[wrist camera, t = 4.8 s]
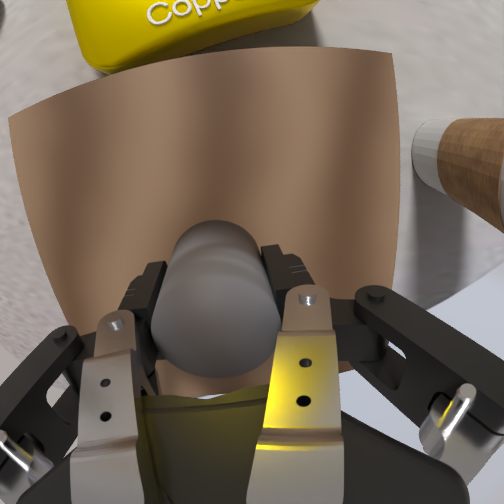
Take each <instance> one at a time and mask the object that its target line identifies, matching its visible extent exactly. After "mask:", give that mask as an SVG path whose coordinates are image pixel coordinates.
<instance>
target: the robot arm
mask: <svg viewBox="0 0 504 504" xmlns="http://www.w3.org/2000/svg"><path fill="white" fill-rule="evenodd" d="M261 257H262V261H263V264H264V267H265V270H266V274H267V277H268V280H269V283H270V287H271V290H272V293H273V297H274V300H275V303H276V306H277V310H278V313H279V316H280V319H281V331H278V335H277V341H276V348H275V355H274V361H273V368H272V374H271V381H270V384H265V385H259V386H252V387H245V388H242V389H239V390H236V391H233V392H230V393H227V394H224V395H221V396H218V397H214V398H211V399H198V398H190V397H183V396H176V395H162V391H161V386H160V381H159V375H158V371H157V369H156V367H155V364H156V360H166V359H165V358H164V356H163V355H162V354H161V353H160V352H159V350H158V349H157V347H156V345H155V343H154V340H153V337H152V332H151V321H152V316H153V313H154V309H155V306H156V302H157V299H158V296H159V293H160V289H161V286H162V283H163V280H164V277H165V274H166V271H167V267H168V266H167V263H166V261H165V260H164V261H157V262H151V263H148V264H147V266H146V268H145V270H144V272H143V274H142V275H139V276H137V277H136V278H135V279H134V280H133V281H131V282H130V284H129V286H128V288H127V291H126V293H125V296H124V297H123V299H122V301H121V303H120V305H119V307H118V310H117V311H113V312H111V313H109V314H107V315H105V316H104V317H103V318H102V319H101V320H100V321H99V322H98V325H97V331H95V332H92V333H89V334H85V335H82V336H80V335H79V333H78V331H77V329H76V328H75V327H74V326H70V325H67V326H62V327H59V328H57V329H55V330H54V331H52V332H51V333H50V334H49V335H48V336H47V337H46V338H45V339H44V340H43V341H42V342H41V343H40V344H39V345H38V346H37V347H36V348H35V349H34V350H33V351H32V352H31V353H30V354H29V355H28V356H27V358H26V359H25V360H24V361H23V362H22V363H21V364H20V365H19V366H18V367H17V368H16V369H15V370H14V371H13V373H12V374H11V375H10V376H9V377H8V378H7V379H6V380H5V381H4V382H3V384H2V385H1V386H0V499H2V501H3V502H4V503H5V504H470V498H469V492H468V488H467V485H468V484H469V483H470V482H471V480H473V478H474V477H475V476H476V475H477V474H478V472H479V471H480V470H481V469H482V468H483V466H484V465H485V463H486V462H487V461H488V460H489V459H490V457H491V456H492V455H493V454H494V453H495V452H496V451H497V449H498V448H499V447H500V446H501V445H502V444H503V443H504V361H503V360H502V359H500V358H499V357H497V356H496V355H494V354H493V353H491V352H490V351H488V350H487V349H485V348H484V347H482V346H481V345H479V344H478V343H476V342H475V341H473V340H471V339H470V338H469V337H467V336H465V335H463V334H462V333H461V332H459V331H457V330H456V329H454V328H453V327H451V326H450V325H448V324H446V323H445V322H443V321H442V320H440V319H438V318H437V317H435V316H434V315H432V314H430V313H429V312H427V311H426V310H424V309H422V308H421V307H419V306H417V305H416V304H414V303H413V302H411V301H409V300H408V299H406V298H404V297H403V296H401V295H399V294H398V293H396V292H394V291H393V290H391V289H389V288H387V287H384V286H380V285H368V286H364V287H362V288H360V289H358V290H357V291H356V293H355V299H335V298H330V297H329V293H328V291H327V290H326V289H324V288H323V287H320V286H317V285H315V283H314V281H313V279H312V277H311V276H310V274H309V272H308V271H307V269H306V267H305V265H304V263H303V262H302V260H301V258H300V257H298V256H296V255H294V254H293V253H291V254H285V255H283V253H282V251H281V249H280V246H279V244H274V245H267V246H261ZM389 341H390V342H391V343H393V344H394V345H395V346H396V347H398V348H399V349H400V350H402V352H403V353H404V354H405V357H406V359H405V358H404V357H402V356H401V355H400V354H398V353H397V352H396V351H395V350H393V349H392V348H391V347H390V346H388V343H389ZM338 361H349V363H350V365H351V366H352V367H353V368H354V369H355V370H356V371H357V372H358V373H359V374H360V375H362V376H363V377H364V378H365V379H366V380H367V381H368V382H369V383H370V384H371V385H372V386H373V387H375V388H376V389H377V390H378V391H379V392H380V393H381V394H382V395H383V396H385V397H386V398H387V399H388V400H389V401H390V402H391V403H392V404H393V405H395V406H396V407H397V408H398V409H399V410H400V411H401V412H402V413H403V414H404V415H406V416H407V417H408V418H409V419H410V420H411V421H412V422H413V423H414V424H416V425H417V426H418V427H419V428H420V430H419V439H420V442H421V444H422V445H423V449H424V451H425V452H426V453H427V454H429V456H428V455H426V454H424V453H422V452H420V451H418V450H416V449H413V448H411V447H409V446H407V445H405V444H403V443H401V442H399V441H397V440H395V439H393V438H391V437H389V436H387V435H385V434H383V433H382V432H380V431H378V430H376V429H374V428H372V427H370V426H368V425H367V424H365V423H363V422H361V421H359V420H357V419H356V418H354V417H352V416H350V415H348V414H347V413H345V412H343V411H341V407H340V388H339V371H338ZM61 373H62V374H63V375H64V377H65V378H66V380H67V381H68V383H69V384H70V385H69V387H68V388H67V389H66V391H65V392H64V393H63V394H62V396H61V397H60V398H59V399H58V401H57V402H56V403H55V405H54V406H53V407H52V408H51V406H50V405H49V404H48V402H47V399H46V394H47V391H48V389H49V388H50V386H51V385H52V384H53V383H54V382H55V380H56V379H57V378H58V377H59V376H60V375H61ZM77 436H78V445H77V447H76V448H75V449H73V450H72V451H71V452H70V453H69V454H68V455H67V456H65V454H66V452H67V451H68V450H69V448H70V447H71V445H72V444H73V442H74V441H75V439H76V438H77ZM64 456H65V457H64ZM63 457H64V458H63Z"/></svg>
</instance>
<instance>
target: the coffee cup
mask: <svg viewBox="0 0 504 504" xmlns="http://www.w3.org/2000/svg"><path fill="white" fill-rule="evenodd" d="M412 160H413V165H414V168H415V171H416V173H417V174H418V176H419V178H420V179H421V180H422V181H423V182H424V183H425V184H427V185H428V186H430V187H432V188H434V189H436V190H438V191H440V192H441V193H443V194H445V195H447V196H449V197H450V198H452V199H453V200H454V201H456V202H458V203H459V204H461V205H463V206H464V207H466V208H467V209H469V210H470V211H472V212H473V213H475V214H476V215H478V216H479V217H481V218H482V219H484V220H485V221H487V222H488V223H490V224H491V225H493V226H494V227H495V228H497V229H498V230H500V231H501V232H502V233H504V119H503V118H469V119H435V120H430V121H427V122H426V123H424V124H423V125H422V126H421V127H420V128H419V130H418V131H417V133H416V135H415V137H414V141H413V145H412Z"/></svg>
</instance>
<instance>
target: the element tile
mask: <svg viewBox="0 0 504 504" xmlns="http://www.w3.org/2000/svg"><path fill="white" fill-rule="evenodd" d="M66 1H67V5H68V9H69V12H70V16H71V20H72V23H73V26H74V30H75V33H76V36H77V40H78V43H79V46H80V49H81V52H82V55H83V57H84V59H85V60H86V62H87V63H88V64H89V65H91V66H92V67H93V68H94V69H96V70H99V71H101V72H103V73H106V74H108V75H112V74H115V73H119V72H122V71H125V70H129V69H133V68H136V67H140V66H144V65H148V64H153V63H157V62H161V61H166V60H171V59H176V58H180V57H182V56H185V55H187V54H190V53H193V52H195V51H198V50H201V49H204V48H206V47H209V46H212V45H215V44H218V43H221V42H224V41H227V40H231V39H234V38H237V37H241V36H244V35H248V34H251V33H255V32H259V31H263V30H267V29H271V28H276V27H280V26H285V25H290V24H292V23H295V22H297V21H299V20H300V19H302V18H303V17H305V16H306V15H307V14H308V12H309V11H310V10H311V9H312V8H313V7H314V6H315V5H316V4H317V3H318V2H319V1H320V0H66Z"/></svg>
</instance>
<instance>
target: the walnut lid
mask: <svg viewBox="0 0 504 504" xmlns="http://www.w3.org/2000/svg"><path fill="white" fill-rule="evenodd" d="M8 120H9V129H10V137H11V144H12V150H13V156H14V161H15V167H16V172H17V177H18V181H19V186H20V190H21V194H22V198H23V202H24V206H25V210H26V214H27V217H28V221H29V224H30V227H31V231H32V234H33V237H34V240H35V243H36V246H37V249H38V252H39V255H40V258H41V260H42V263H43V266H44V268H45V271H46V274H47V276H48V279H49V281H50V284H51V286H52V288H53V291H54V293H55V296H56V298H57V300H58V302H59V305H60V307H61V309H62V311H63V313H64V315H65V318H66V320H67V322H68V324H69V325H70V326H74V327H75V328H76V329H77V331H78V333H79V335H80V336H82V335H85V334H89V333H92V332H95V331H97V325H98V322H99V321H100V320H101V319H102V318H103V317H104V316H105V315H107V314H109V313H111V312H113V311H117V310H118V307H119V305H120V303H121V301H122V299H123V297H124V296H125V293H126V291H127V288H128V286H129V284H130V282H131V281H133V280H134V279H135V278H136V277H137V276H139V275H142V274H143V272H144V270H145V268H146V266H147V264H148V263H151V262H157V261H164V260H165V261H166V263H167V266H168V267H167V271H166V274H165V277H164V280H163V283H162V286H161V289H160V293H159V296H158V299H157V302H156V306H155V309H154V313H153V316H152V321H151V332H152V337H153V340H154V343H155V345H156V347H157V349H158V350H159V352H160V353H161V354H162V355H163V356H164V358H165V359H166V360H156V364H155V367H156V369H157V371H158V375H159V381H160V386H161V391H162V395H176V396H183V397H194V396H206V395H216V394H226V393H230V392H233V391H236V390H239V389H242V388H245V387H252V386H259V385H265V384H270V381H271V374H272V368H273V361H274V355H275V348H276V341H277V335H278V331H281V319H280V316H279V313H278V310H277V306H276V303H275V300H274V297H273V293H272V290H271V287H270V283H269V280H268V277H267V274H266V270H265V267H264V264H263V261H262V257H261V246H267V245H274V244H279V246H280V249H281V251H282V253H283V255H285V254H291V253H293V254H294V255H296V256H298V257H300V258H301V260H302V262H303V263H304V265H305V267H306V269H307V271H308V272H309V274H310V276H311V277H312V279H313V281H314V283H315V285H317V286H320V287H323V288H324V289H326V290H327V291H328V293H329V297H330V298H335V299H355V293H356V291H357V290H358V289H360V288H362V287H364V286H368V285H380V286H384V287H387V288H389V289H391V290H392V284H393V276H394V268H395V259H396V249H397V237H398V223H399V204H400V134H399V116H398V103H397V92H396V82H395V73H394V66H393V59H392V53H386V52H378V51H370V50H361V49H349V48H335V47H302V46H296V47H263V48H249V49H237V50H228V51H219V52H212V53H205V54H198V55H192V56H186V57H181V58H176V59H171V60H166V61H161V62H157V63H153V64H148V65H144V66H140V67H136V68H133V69H129V70H125V71H122V72H119V73H115V74H112V75H109V76H106V77H102V78H99V79H96V80H93V81H91V82H88V83H85V84H82V85H79V86H77V87H74V88H72V89H69V90H66V91H64V92H62V93H59V94H57V95H54V96H52V97H50V98H47V99H45V100H43V101H41V102H39V103H36V104H34V105H32V106H30V107H28V108H26V109H24V110H22V111H20V112H18V113H16V114H14V115H12V116H10V117H9V118H8ZM350 370H354V368H353V367H352V366H351V365H350V363H349V361H338V371H339V373H342V372H346V371H350Z"/></svg>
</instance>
